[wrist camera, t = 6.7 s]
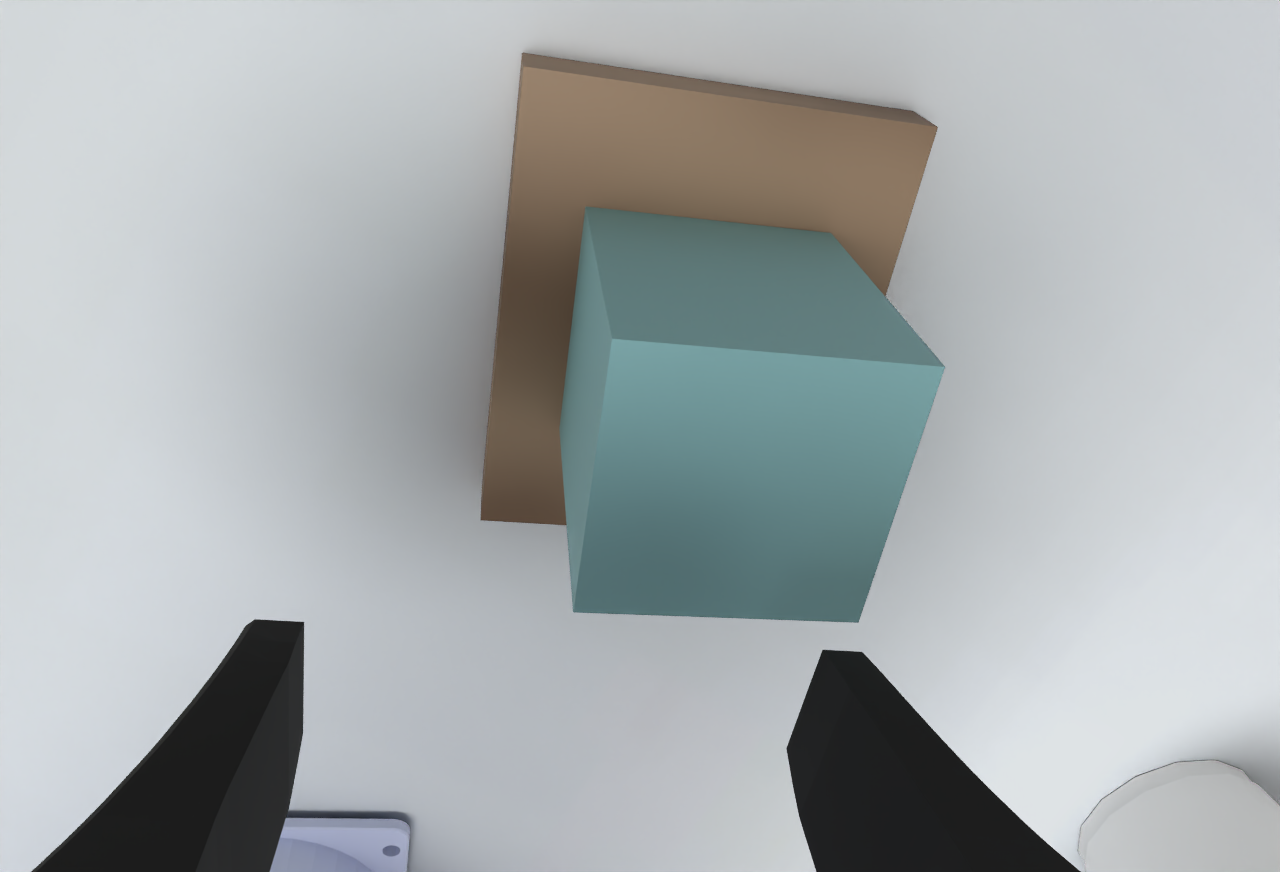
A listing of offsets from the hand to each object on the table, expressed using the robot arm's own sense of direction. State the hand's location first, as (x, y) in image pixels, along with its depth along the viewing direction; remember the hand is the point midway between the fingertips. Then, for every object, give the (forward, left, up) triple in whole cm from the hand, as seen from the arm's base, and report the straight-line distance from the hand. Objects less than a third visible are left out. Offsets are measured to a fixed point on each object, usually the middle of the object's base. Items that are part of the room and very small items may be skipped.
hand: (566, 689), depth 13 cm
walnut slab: (+2, -3, -11) cm, 11 cm away
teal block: (+2, -3, -9) cm, 9 cm away
